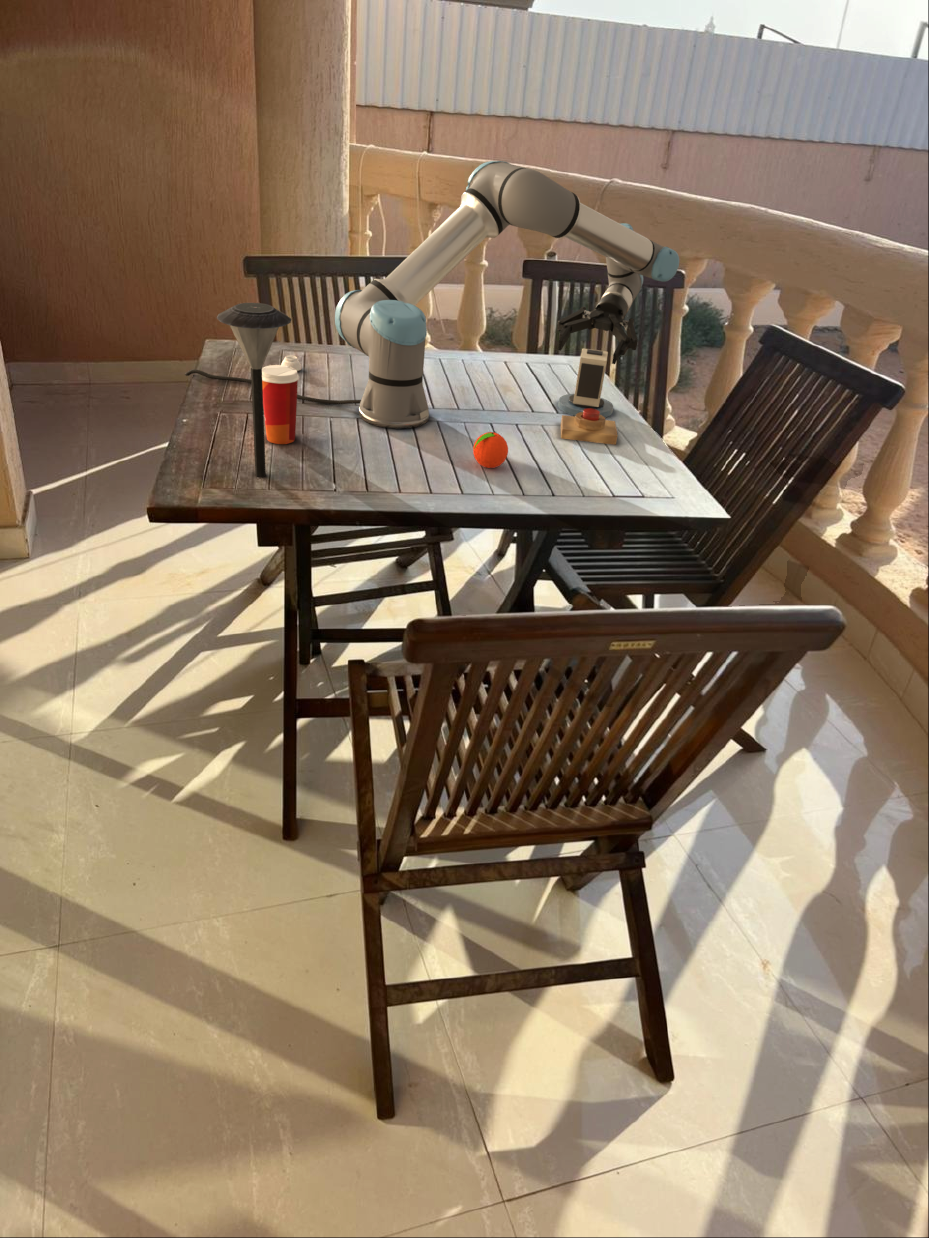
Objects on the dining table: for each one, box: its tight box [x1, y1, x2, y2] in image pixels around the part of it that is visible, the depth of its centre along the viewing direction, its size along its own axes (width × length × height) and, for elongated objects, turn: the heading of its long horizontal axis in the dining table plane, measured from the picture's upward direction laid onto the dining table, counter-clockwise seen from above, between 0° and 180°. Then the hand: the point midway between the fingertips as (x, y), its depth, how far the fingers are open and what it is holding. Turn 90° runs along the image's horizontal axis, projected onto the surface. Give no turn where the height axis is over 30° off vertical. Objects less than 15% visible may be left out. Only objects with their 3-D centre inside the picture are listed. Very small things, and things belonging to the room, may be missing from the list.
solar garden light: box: [216, 302, 292, 478], centre depth 153 cm, size 12×12×30 cm
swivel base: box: [557, 393, 614, 418], centre depth 208 cm, size 13×13×2 cm
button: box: [582, 408, 600, 421], centre depth 192 cm, size 4×4×2 cm
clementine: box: [472, 431, 509, 469], centre depth 172 cm, size 8×7×7 cm
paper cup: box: [262, 364, 300, 445], centre depth 173 cm, size 8×8×14 cm
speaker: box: [569, 347, 609, 408], centre depth 204 cm, size 9×8×12 cm
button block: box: [560, 412, 619, 446], centre depth 193 cm, size 12×9×4 cm
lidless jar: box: [280, 355, 303, 372], centre depth 213 cm, size 5×3×5 cm
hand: (586, 352), depth 209 cm, fingers open, 13 cm apart
